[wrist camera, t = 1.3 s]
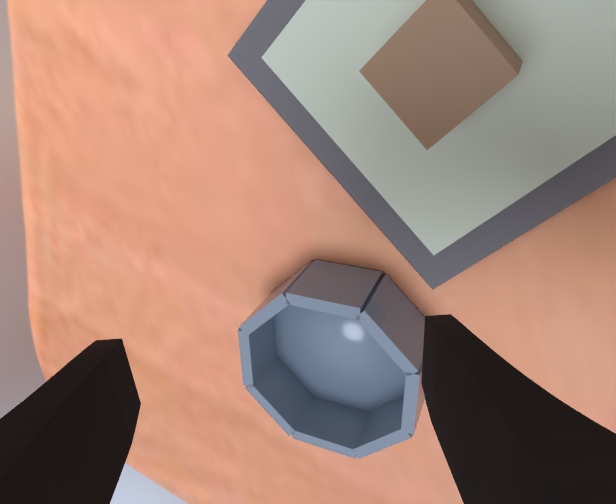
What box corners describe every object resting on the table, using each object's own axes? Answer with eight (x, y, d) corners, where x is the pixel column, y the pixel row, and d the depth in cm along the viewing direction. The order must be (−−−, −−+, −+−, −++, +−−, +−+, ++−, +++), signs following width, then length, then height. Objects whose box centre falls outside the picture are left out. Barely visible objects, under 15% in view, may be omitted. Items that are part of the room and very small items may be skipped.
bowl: (348, 230, 23) (321, 262, 20) (469, 368, 24) (460, 417, 21) (243, 315, 28) (209, 349, 25) (344, 426, 29) (323, 473, 26)
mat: (499, -314, 14) (498, -323, 14) (796, 61, 15) (802, 62, 14) (232, 54, 22) (227, 55, 21) (433, 285, 23) (432, 289, 22)
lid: (487, -221, 14) (468, -307, 11) (714, 62, 15) (776, 80, 11) (270, 56, 21) (206, 67, 17) (436, 247, 21) (413, 302, 17)
